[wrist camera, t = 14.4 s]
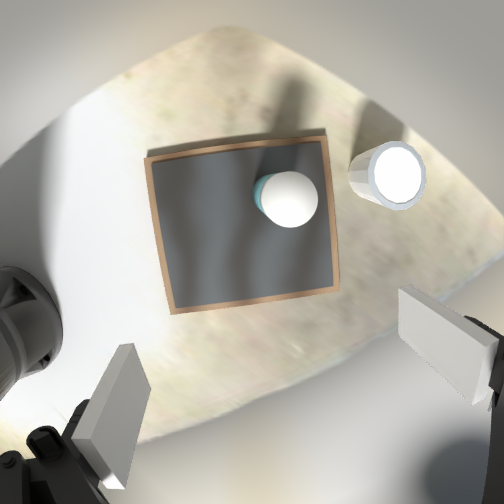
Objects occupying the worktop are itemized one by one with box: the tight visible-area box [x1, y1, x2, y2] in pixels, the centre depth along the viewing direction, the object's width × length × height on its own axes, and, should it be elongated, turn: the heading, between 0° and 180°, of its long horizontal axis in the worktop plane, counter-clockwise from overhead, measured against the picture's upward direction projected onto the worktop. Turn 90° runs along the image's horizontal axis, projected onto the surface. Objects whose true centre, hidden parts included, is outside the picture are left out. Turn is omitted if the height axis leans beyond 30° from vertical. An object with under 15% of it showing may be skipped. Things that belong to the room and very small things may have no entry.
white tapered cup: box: [348, 141, 426, 210], centre depth 32 cm, size 7×7×7 cm
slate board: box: [144, 135, 340, 315], centre depth 35 cm, size 20×18×1 cm
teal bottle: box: [252, 171, 318, 228], centre depth 28 cm, size 4×4×11 cm
